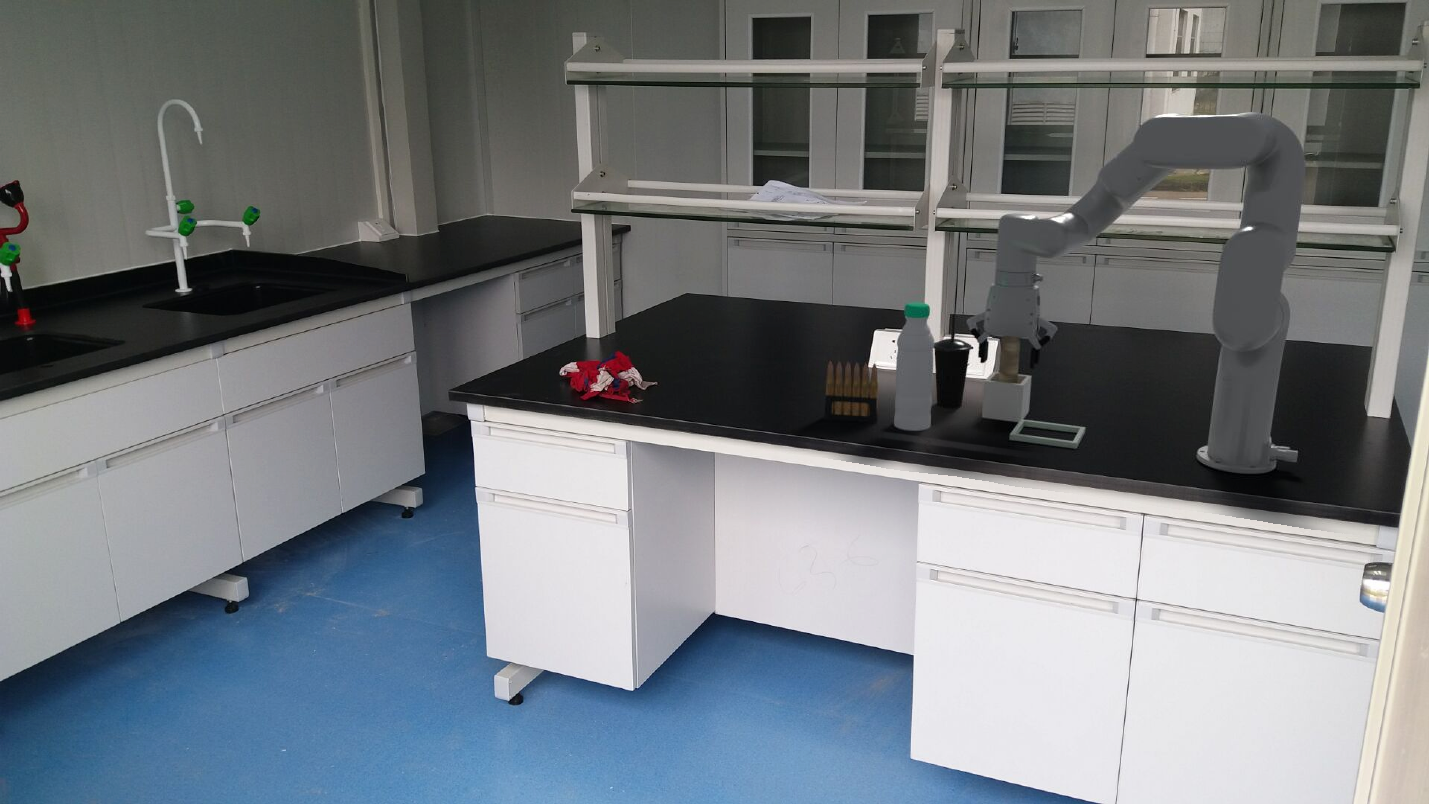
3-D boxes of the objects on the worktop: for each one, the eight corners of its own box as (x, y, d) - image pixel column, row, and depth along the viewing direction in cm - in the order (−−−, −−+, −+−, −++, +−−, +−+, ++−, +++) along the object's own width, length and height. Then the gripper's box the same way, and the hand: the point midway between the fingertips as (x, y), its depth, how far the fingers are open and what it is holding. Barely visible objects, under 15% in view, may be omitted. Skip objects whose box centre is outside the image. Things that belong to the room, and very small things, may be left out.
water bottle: (897, 422, 210) (902, 299, 203) (933, 425, 208) (939, 301, 200) (890, 433, 204) (894, 306, 197) (926, 436, 201) (932, 308, 194)
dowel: (1016, 413, 211) (1023, 325, 206) (1012, 418, 208) (1019, 329, 203) (998, 410, 213) (1004, 324, 208) (994, 415, 210) (1000, 327, 205)
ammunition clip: (878, 420, 212) (879, 362, 208) (877, 422, 210) (878, 364, 207) (825, 416, 215) (826, 359, 211) (824, 419, 213) (824, 362, 209)
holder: (1028, 416, 213) (1031, 375, 210) (1020, 427, 206) (1023, 385, 204) (990, 411, 216) (993, 371, 213) (981, 422, 209) (984, 381, 207)
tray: (1084, 437, 200) (1085, 427, 199) (1075, 453, 191) (1076, 443, 191) (1020, 428, 205) (1021, 419, 204) (1009, 444, 197) (1009, 434, 196)
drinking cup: (926, 404, 221) (930, 311, 216) (961, 402, 222) (966, 310, 216) (935, 415, 214) (940, 319, 208) (972, 413, 215) (978, 318, 209)
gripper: (1064, 279, 202) (1056, 364, 207) (974, 272, 210) (969, 355, 215) (1057, 285, 196) (1049, 374, 201) (965, 278, 203) (960, 364, 208)
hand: (1008, 364), depth 208 cm, fingers open, 9 cm apart
